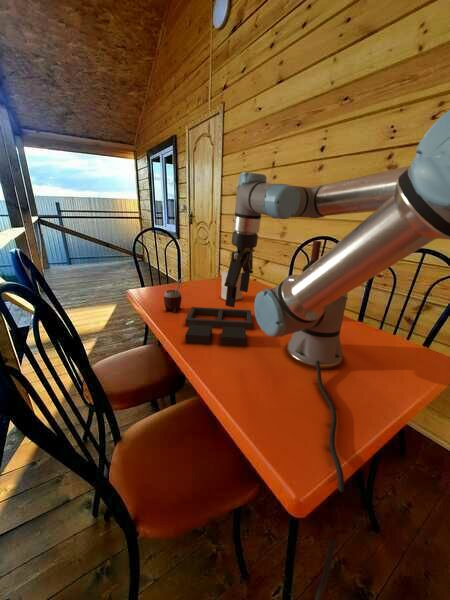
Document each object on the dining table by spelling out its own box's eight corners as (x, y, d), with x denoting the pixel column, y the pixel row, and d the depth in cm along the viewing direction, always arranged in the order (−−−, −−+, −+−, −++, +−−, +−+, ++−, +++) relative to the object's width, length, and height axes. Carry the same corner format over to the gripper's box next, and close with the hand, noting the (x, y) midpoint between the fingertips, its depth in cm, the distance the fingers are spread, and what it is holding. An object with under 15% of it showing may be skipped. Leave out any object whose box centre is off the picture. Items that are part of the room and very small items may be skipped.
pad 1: (209, 344, 79) (209, 336, 78) (185, 343, 79) (185, 334, 78) (212, 333, 86) (212, 325, 85) (190, 332, 86) (190, 324, 85)
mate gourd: (162, 308, 106) (160, 273, 101) (180, 305, 110) (179, 271, 105) (167, 314, 100) (166, 277, 95) (186, 311, 104) (186, 275, 99)
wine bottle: (306, 321, 98) (319, 242, 89) (292, 314, 104) (302, 240, 95) (319, 317, 102) (332, 242, 92) (305, 311, 108) (315, 239, 98)
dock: (251, 329, 90) (252, 323, 89) (185, 325, 91) (185, 319, 90) (250, 315, 102) (250, 310, 101) (191, 312, 103) (191, 306, 102)
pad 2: (245, 346, 78) (245, 338, 77) (221, 345, 79) (221, 336, 78) (244, 335, 85) (245, 327, 84) (222, 334, 86) (222, 326, 85)
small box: (233, 295, 126) (235, 269, 122) (242, 298, 122) (243, 272, 117) (220, 297, 122) (221, 271, 117) (228, 301, 117) (230, 274, 113)
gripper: (246, 225, 86) (238, 283, 95) (216, 236, 64) (210, 310, 73) (267, 228, 83) (258, 288, 92) (244, 241, 62) (235, 317, 71)
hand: (237, 298), depth 83 cm, fingers open, 13 cm apart
